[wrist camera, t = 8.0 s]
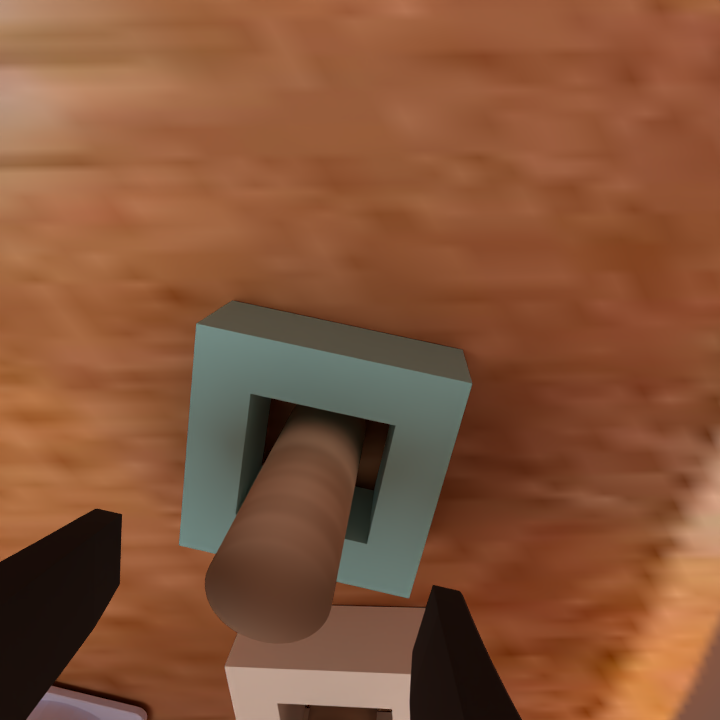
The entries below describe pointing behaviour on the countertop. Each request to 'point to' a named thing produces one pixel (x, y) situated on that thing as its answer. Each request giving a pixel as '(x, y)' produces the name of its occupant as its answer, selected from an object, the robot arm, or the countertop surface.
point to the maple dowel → (290, 531)
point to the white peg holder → (329, 666)
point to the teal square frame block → (332, 393)
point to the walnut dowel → (341, 713)
